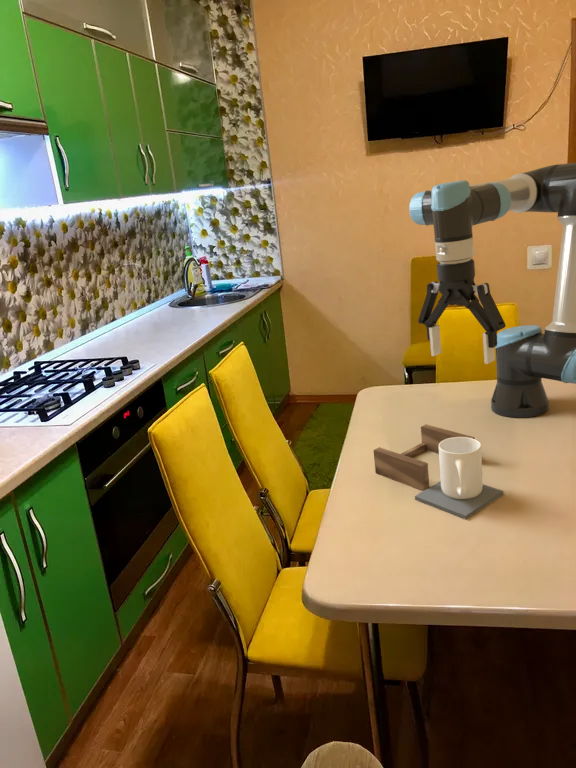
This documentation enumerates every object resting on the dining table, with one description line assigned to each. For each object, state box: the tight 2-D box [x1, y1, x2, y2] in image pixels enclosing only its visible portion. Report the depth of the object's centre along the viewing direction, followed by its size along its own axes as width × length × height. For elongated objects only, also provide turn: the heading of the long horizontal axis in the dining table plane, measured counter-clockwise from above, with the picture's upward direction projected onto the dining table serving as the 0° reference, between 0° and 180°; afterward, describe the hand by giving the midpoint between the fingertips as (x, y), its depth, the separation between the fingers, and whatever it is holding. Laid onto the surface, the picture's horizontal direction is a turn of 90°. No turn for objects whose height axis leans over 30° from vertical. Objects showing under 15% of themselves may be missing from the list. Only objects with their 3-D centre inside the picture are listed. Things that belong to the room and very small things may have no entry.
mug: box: [438, 437, 484, 499], centre depth 129 cm, size 9×12×11 cm
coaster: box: [414, 480, 504, 520], centre depth 131 cm, size 13×13×1 cm
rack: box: [373, 424, 475, 492], centre depth 146 cm, size 19×14×6 cm
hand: (462, 358), depth 134 cm, fingers open, 13 cm apart
